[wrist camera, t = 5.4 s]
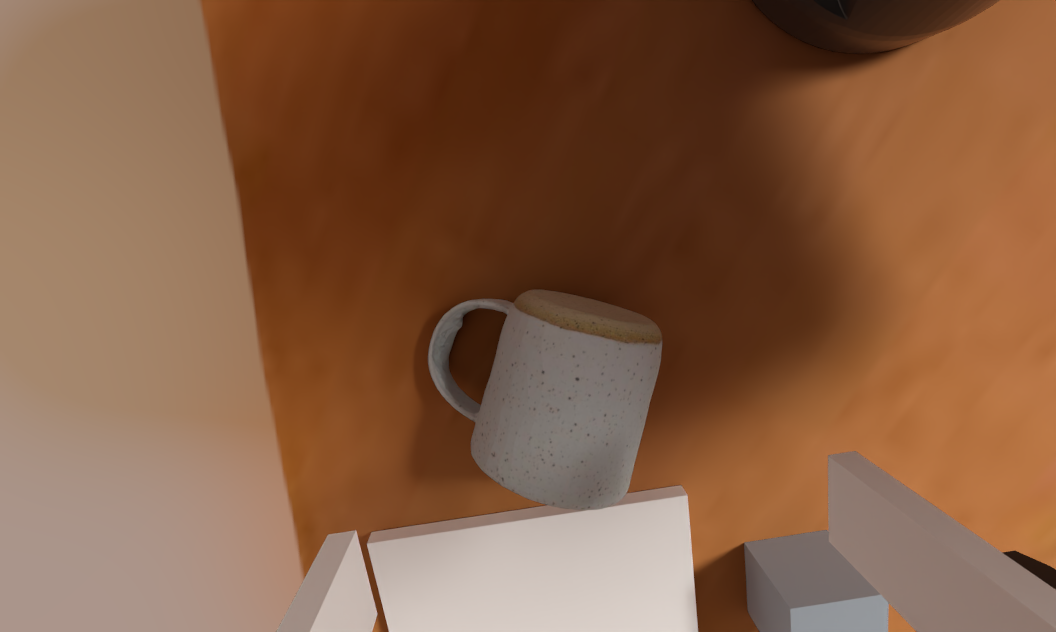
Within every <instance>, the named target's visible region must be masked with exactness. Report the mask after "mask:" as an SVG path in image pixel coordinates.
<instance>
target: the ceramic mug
mask: <svg viewBox="0 0 1056 632" xmlns="http://www.w3.org/2000/svg"><path fill="white" fill-rule="evenodd" d="M477 308H484V309H493V310H496V311H500V312H504V313H505V314H507V317H506V319H505V322H504V325H503V328H502V332H501V335H500V339H499V343H498V347H497V352H496V356H495V360H494V363H493V367H492V371H491V374H490V378H489V381H488V383H487V386H486V389H485V392H484V396H483V400H482V404H481V405H480V404H478V403H477V402H475V401H474V400H472V399H471V398H470V397H469V396H467V395H466V394H465V393H464V392H463V391H462V390H461V389H460V388H459V387H458V385H457V384H456V382H455V381H454V379H453V377H452V375H451V373H450V370H449V359H448V358H449V354H450V351H451V348H452V345H453V342H454V338H455V336H456V334H457V331H458V330H459V329H460V328H461V327H462V323H463V322H462V320H463V316H464V315H465V314H466V313H468V312H469V311H472V310H475V309H477ZM661 352H662V334H661V331H660V329H659V327H658V326H657V325H656V323H655V322H654V321H652V320H651V319H649V318H647V317H645V316H643V315H641V314H638V313H636V312H633V311H630V310H627V309H624V308H621V307H618V306H615V305H611V304H608V303H604V302H601V301H597V300H594V299H590V298H585V297H581V296H577V295H572V294H567V293H562V292H556V291H549V290H539V289H536V290H529V291H526V292H524V293H522V294H521V295H519V296H518V297H517V298H516V300H515V302H514V303H512V302H509V301H507V300H502V299H476V300H469V301H466V302H463V303H460V304H459V305H457V306H455V307H453V308H451V309H450V310H449V311H448V312H447V313H446V314H444V315H443V317H442V318H441V319H440V321H439V322H438V324H437V326H436V328H435V330H434V332H433V335H432V338H431V342H430V346H429V351H428V366H429V371H430V374H431V377H432V379H433V381H434V383H435V385H436V387H437V389H438V391H439V392H440V393H441V394H442V396H443V397H444V398H445V400H446V401H447V402H448V403H449V404H450V405H451V406H452V407H454V408H455V409H456V410H457V411H459V412H460V413H461V414H463V415H464V416H466V417H467V418H469V419H470V420H472V421H474V422H475V428H474V431H473V434H472V439H471V455H472V456H473V458H474V460H475V462H476V463H477V465H478V466H479V467H480V468H481V470H482V471H483V472H485V473H486V474H487V475H488V476H489V477H490V478H492V479H493V480H494V481H496V482H497V483H498V484H500V485H501V486H503V487H505V488H507V489H509V490H511V491H513V492H514V493H516V494H519V495H521V496H523V497H525V498H527V499H530V500H533V501H536V502H539V503H542V504H545V505H549V506H553V507H558V508H563V509H574V510H598V509H603V508H607V507H610V506H612V505H614V504H616V503H618V502H619V501H620V500H621V499H622V498H623V497H624V496H625V495H626V493H627V491H628V488H629V485H630V480H631V476H632V472H633V469H634V463H635V460H636V456H637V452H638V448H639V445H640V440H641V437H642V433H643V430H644V426H645V421H646V417H647V413H648V409H649V404H650V400H651V397H652V393H653V390H654V387H655V383H656V379H657V376H658V372H659V367H660V362H661Z"/></svg>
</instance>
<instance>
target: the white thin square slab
mask: <svg viewBox="0 0 1056 632" xmlns="http://www.w3.org/2000/svg"><path fill="white" fill-rule="evenodd" d="M367 547H368V551H369V555H370V559H371V562H372V566H373V570H374V574H375V578H376V582H377V586H378V590H379V594H380V598H381V602H382V606H383V610H384V614H385V618H386V622H387V626H388V630H389V632H698V623H697V611H696V598H695V585H694V572H693V559H692V546H691V533H690V521H689V508H688V495H687V494H686V492H685V490H684V489H683V487H682V485H679V486H672V487H666V488H659V489H652V490H646V491H639V492H633V493H626V495H625V496H624V497H623V498H622V499H621V500H620V501H619V502H618V503H616V504H614V505H612V506H610V507H607V508H603V509H598V510H574V509H563V508H558V507H553V506H549V505H547V506H540V507H533V508H527V509H520V510H514V511H507V512H500V513H494V514H487V515H481V516H474V517H467V518H461V519H454V520H448V521H441V522H434V523H428V524H421V525H414V526H408V527H401V528H395V529H388V530H381V531H375V532H371V535H370V537H369V540H368V542H367Z"/></svg>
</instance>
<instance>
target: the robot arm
mask: <svg viewBox="0 0 1056 632" xmlns="http://www.w3.org/2000/svg"><path fill="white" fill-rule="evenodd" d="M752 1H753V2H754V3H755V5H756V6H757V7H758V8H759V9H760V10H761V11H762V12H763V13H764V14H765V15H766V16H767V17H768V18H769V19H770V20H771V21H772V22H774V23H775V24H776V25H777V26H779V27H780V28H781V29H783V30H784V31H786V32H787V33H789V34H790V35H792V36H794V37H796V38H798V39H799V40H801V41H804V42H806V43H808V44H811V45H813V46H816V47H819V48H822V49H826V50H831V51H836V52H842V53H855V54H859V53H876V52H883V51H888V50H893V49H897V48H900V47H904V46H907V45H909V44H912V43H915V42H918V41H920V40H923V39H925V38H928V37H930V36H933V35H935V34H938V33H940V32H942V31H945V30H947V29H950V28H952V27H954V26H957V25H959V24H961V23H963V22H965V21H967V20H969V19H970V18H972V17H974V16H976V15H977V14H979V13H981V12H982V11H984V10H986V9H987V8H989V7H991V6H992V5H994V4H995V3H997V2H998V1H999V0H752ZM828 513H829V542H830V543H831V544H832V545H833V546H834V547H835V548H836V549H837V550H838V551H839V552H840V553H841V554H842V555H843V556H844V558H845V559H846V560H847V561H848V562H849V563H850V564H851V565H852V566H853V567H854V568H855V569H856V570H857V571H858V572H859V573H860V574H861V575H862V576H863V577H864V578H865V579H866V580H867V581H868V582H869V583H870V584H871V585H872V586H873V587H874V588H875V589H876V590H877V591H878V592H879V593H880V594H881V595H882V596H883V597H884V598H885V600H886V601H887V602H888V603H889V604H890V605H891V606H892V607H893V608H894V609H895V610H896V611H897V612H898V613H899V614H900V615H901V616H902V617H903V618H904V619H905V620H906V621H907V622H908V623H909V624H910V625H911V626H912V627H913V628H914V629H915V630H916V631H917V632H1056V570H1055V569H1054V568H1052V567H1051V566H1048V565H1046V564H1044V563H1042V562H1039V561H1037V560H1035V559H1033V558H1030V557H1028V556H1026V555H1023V554H1021V553H1019V552H1017V551H1010V552H1004V553H1002V552H1000V551H999V550H998V549H996V548H995V547H993V546H992V545H990V544H989V543H987V542H986V541H985V540H983V539H982V538H980V537H979V536H977V535H976V534H974V533H973V532H971V531H970V530H969V529H967V528H966V527H964V526H963V525H961V524H960V523H958V522H957V521H956V520H954V519H953V518H951V517H950V516H948V515H947V514H945V513H944V512H943V511H941V510H940V509H938V508H937V507H935V506H934V505H932V504H931V503H930V502H928V501H927V500H925V499H924V498H922V497H921V496H919V495H918V494H917V493H915V492H914V491H912V490H911V489H909V488H908V487H906V486H905V485H904V484H902V483H901V482H899V481H898V480H896V479H895V478H893V477H892V476H890V475H889V474H888V473H886V472H885V471H883V470H882V469H880V468H879V467H877V466H876V465H875V464H873V463H872V462H870V461H869V460H867V459H866V458H864V457H863V456H862V455H860V454H859V453H857V452H856V451H852V452H846V453H840V454H833V455H828ZM376 617H377V611H376V607H375V603H374V599H373V595H372V591H371V587H370V583H369V579H368V575H367V571H366V567H365V563H364V559H363V556H362V552H361V548H360V544H359V540H358V536H357V532H356V530H354V531H348V532H342V533H335V534H329V535H328V536H327V537H326V539H325V541H324V543H323V545H322V547H321V549H320V551H319V552H318V554H317V556H316V558H315V560H314V562H313V564H312V566H311V567H310V569H309V571H308V573H307V575H306V577H305V579H304V580H303V582H302V584H301V586H300V588H299V590H298V592H297V594H296V596H295V598H294V599H293V601H292V603H291V605H290V607H289V609H288V610H287V612H286V614H285V616H284V618H283V620H282V622H281V623H280V625H279V628H278V629H277V631H276V632H372V630H373V627H374V624H375V621H376Z"/></svg>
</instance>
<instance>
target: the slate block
mask: <svg viewBox="0 0 1056 632" xmlns="http://www.w3.org/2000/svg"><path fill="white" fill-rule="evenodd" d="M744 551H745V570H746V589H747V608H748V613H749V615H750V616H751V618H752V620H753V622H754V623H755V625H756V627H757V628H758V630H759V632H888V604H889V603H888V602H887V601H886V600H885V598H884V597H883V596H882V595H881V594H880V593H879V592H878V591H877V590H876V589H875V588H874V587H873V586H872V585H871V584H870V583H869V582H868V581H867V580H866V579H865V578H864V577H863V576H862V575H861V574H860V573H859V572H858V571H857V570H856V569H855V568H854V567H853V566H852V565H851V564H850V563H849V562H848V561H847V560H846V559H845V558H844V556H843V555H842V554H841V553H840V552H839V551H838V550H837V549H836V548H835V547H834V546H833V545H832V544H831V543H830V542H829V532H828V531H827V530H822V531H816V532H810V533H803V534H797V535H790V536H784V537H777V538H771V539H764V540H758V541H751V542H745V543H744Z"/></svg>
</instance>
